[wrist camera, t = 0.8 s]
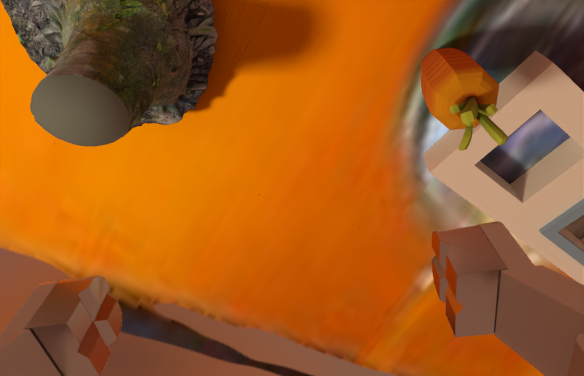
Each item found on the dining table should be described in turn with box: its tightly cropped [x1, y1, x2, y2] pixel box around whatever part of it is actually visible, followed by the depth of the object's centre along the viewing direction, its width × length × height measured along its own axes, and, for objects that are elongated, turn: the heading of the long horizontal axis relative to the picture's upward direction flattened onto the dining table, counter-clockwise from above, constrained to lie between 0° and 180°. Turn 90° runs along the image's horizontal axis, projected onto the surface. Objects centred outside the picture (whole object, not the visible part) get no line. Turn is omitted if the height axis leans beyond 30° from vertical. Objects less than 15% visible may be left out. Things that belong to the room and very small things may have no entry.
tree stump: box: [1, 0, 218, 146], centre depth 34 cm, size 18×20×18 cm
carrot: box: [421, 48, 508, 151], centre depth 34 cm, size 5×5×15 cm
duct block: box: [423, 50, 584, 285], centre depth 45 cm, size 14×26×4 cm, turn 54°
